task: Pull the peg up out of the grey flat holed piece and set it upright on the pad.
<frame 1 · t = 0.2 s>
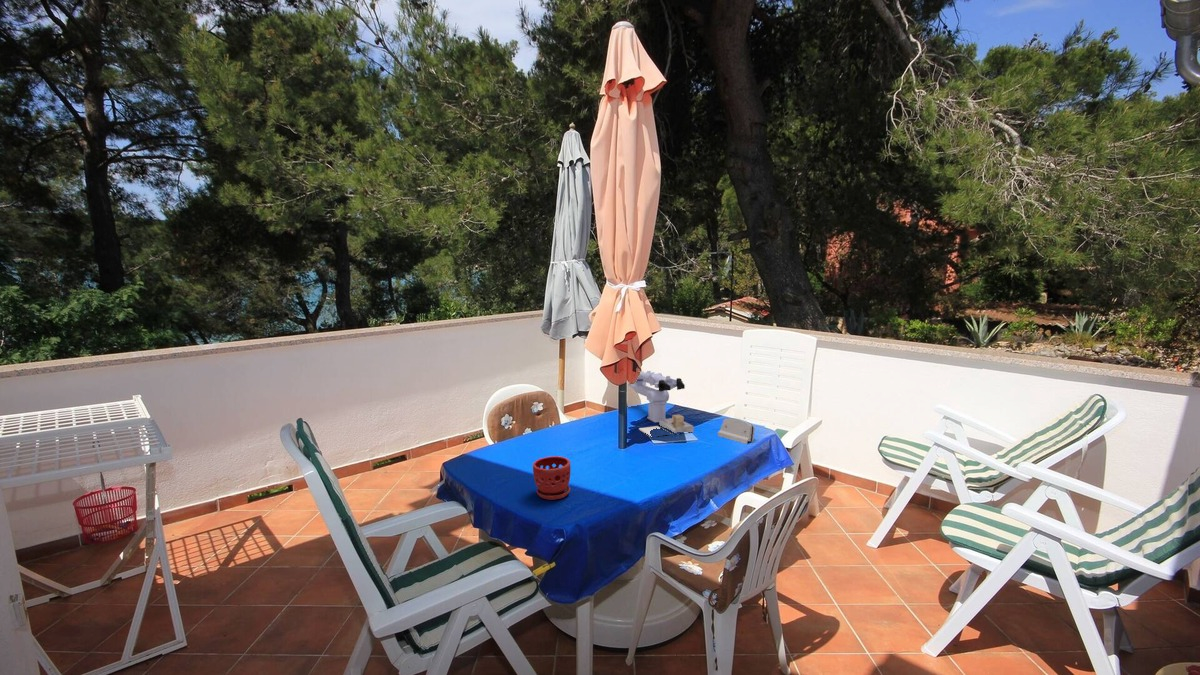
hand: (676, 387, 263), 21 cm above the table, tool horizontal, fingers open, 7 cm apart
grey flat holed piece: (675, 428, 268), on the table
pad: (654, 432, 263), on the table
plant pot: (552, 495, 193), on the table
peg: (677, 430, 266), resting in grey flat holed piece
hinge: (736, 438, 253), on the table
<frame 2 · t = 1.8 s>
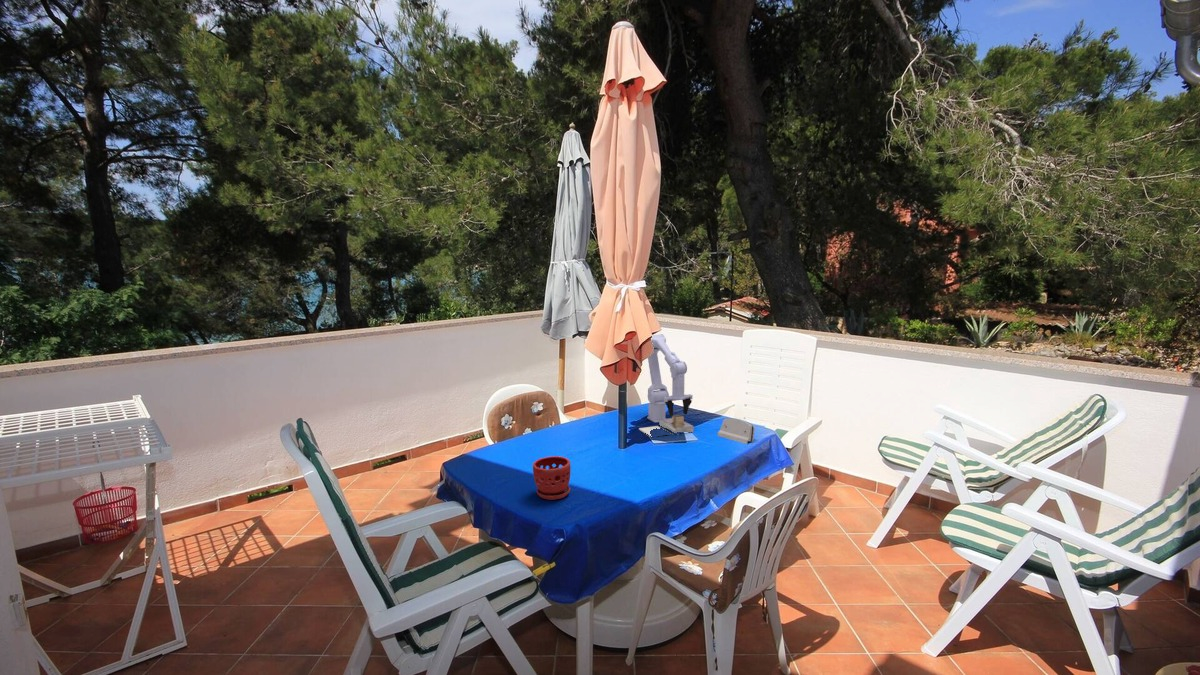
hand: (678, 414, 265), 8 cm above the table, tool pointing down, fingers open, 7 cm apart
nothing on the table moved.
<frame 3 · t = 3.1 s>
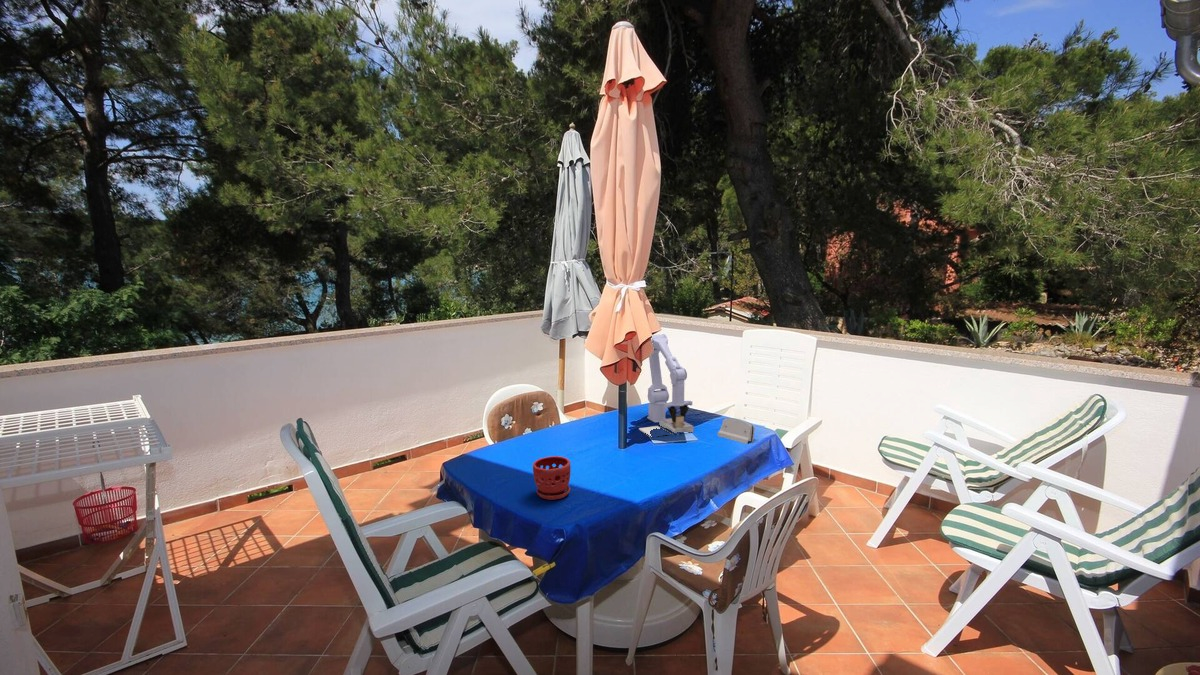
hand: (678, 421, 266), 4 cm above the table, tool pointing down, fingers closed on peg, 4 cm apart
peg: (677, 430, 266), resting in grey flat holed piece, touching gripper
everything else where it was.
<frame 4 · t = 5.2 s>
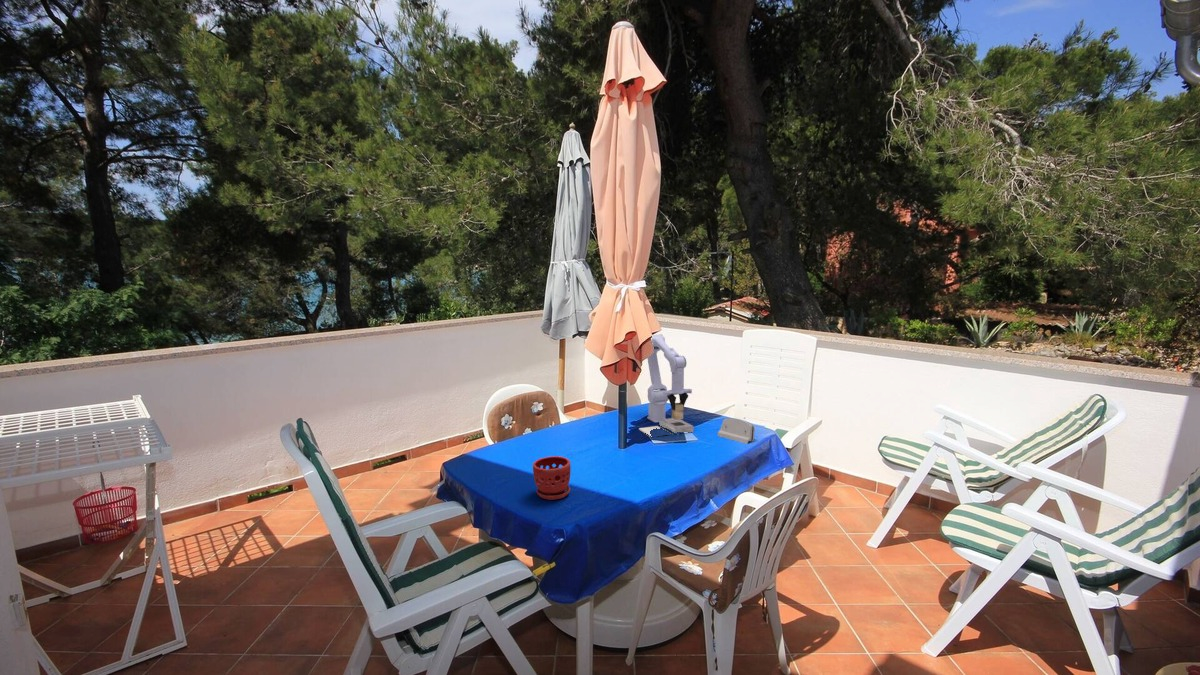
hand: (677, 409, 265), 10 cm above the table, tool pointing down, fingers closed on peg, 4 cm apart
peg: (677, 418, 265), point 6 cm above the table, touching gripper
everything else where it was.
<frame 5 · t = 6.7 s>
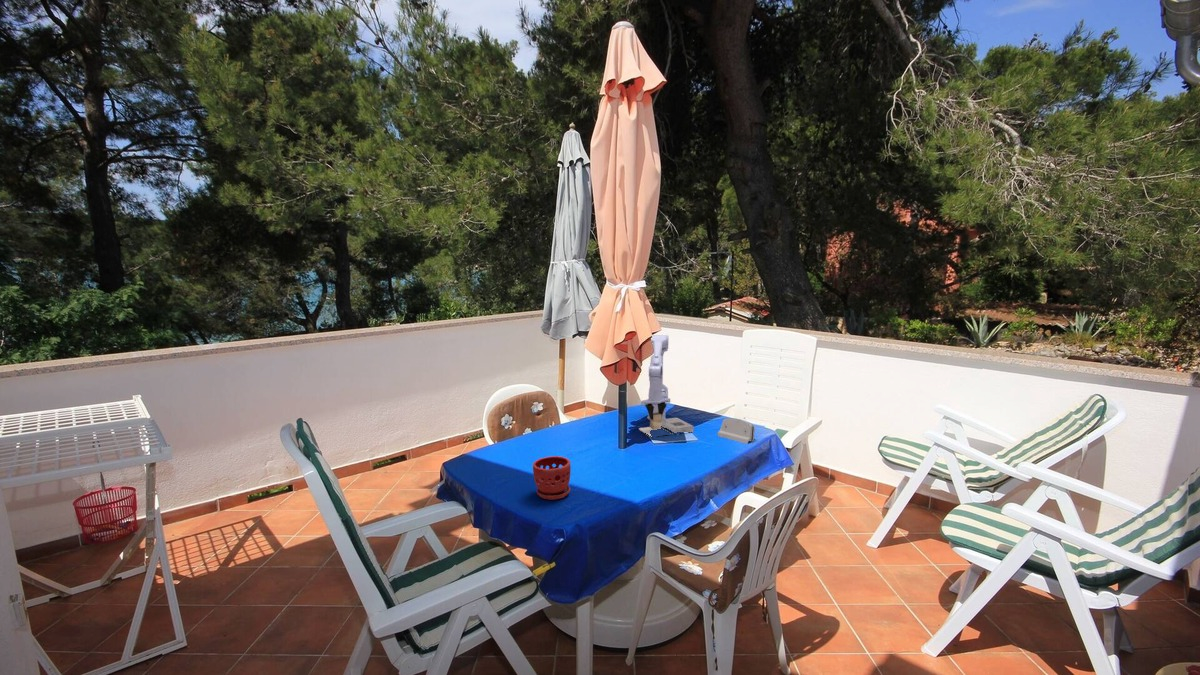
hand: (655, 418, 261), 7 cm above the table, tool pointing down, fingers closed on peg, 4 cm apart
peg: (655, 428, 261), point 2 cm above the table, touching gripper
everything else where it was.
when the fingers open (6 cm above the table, at t = 7.7 s): peg stays where it is, resting on pad.
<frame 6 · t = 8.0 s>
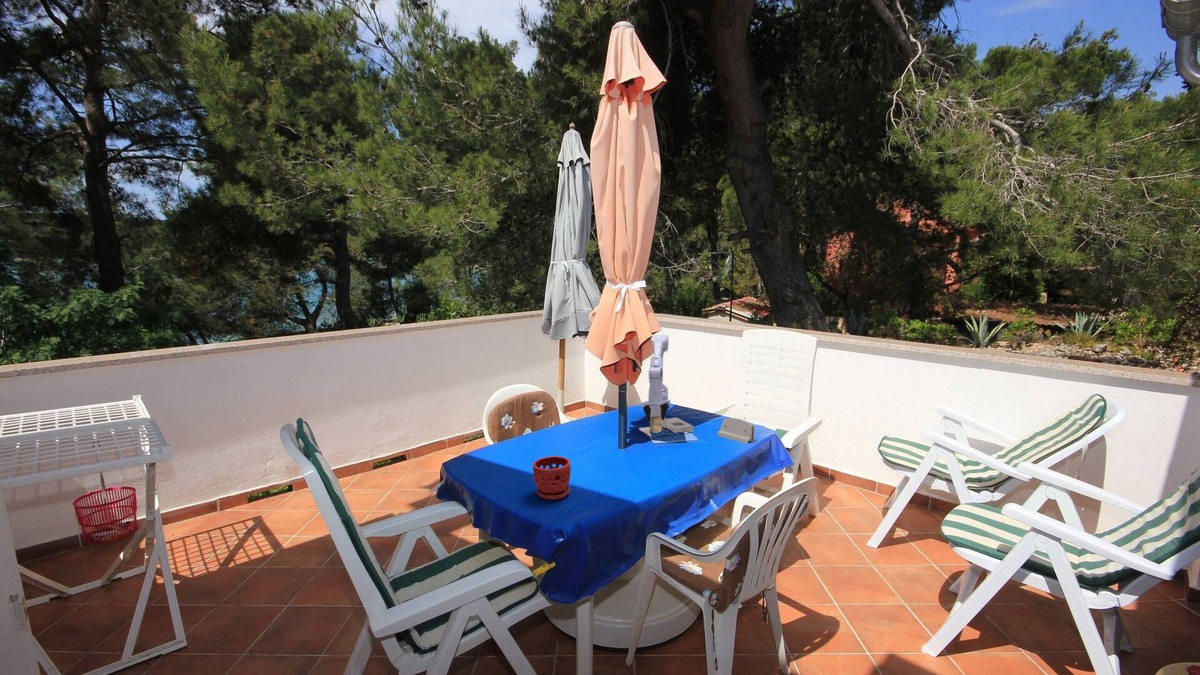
hand: (655, 420, 261), 6 cm above the table, tool pointing down, fingers open, 7 cm apart
peg: (655, 431, 262), point 1 cm above the table, touching pad
everything else where it was.
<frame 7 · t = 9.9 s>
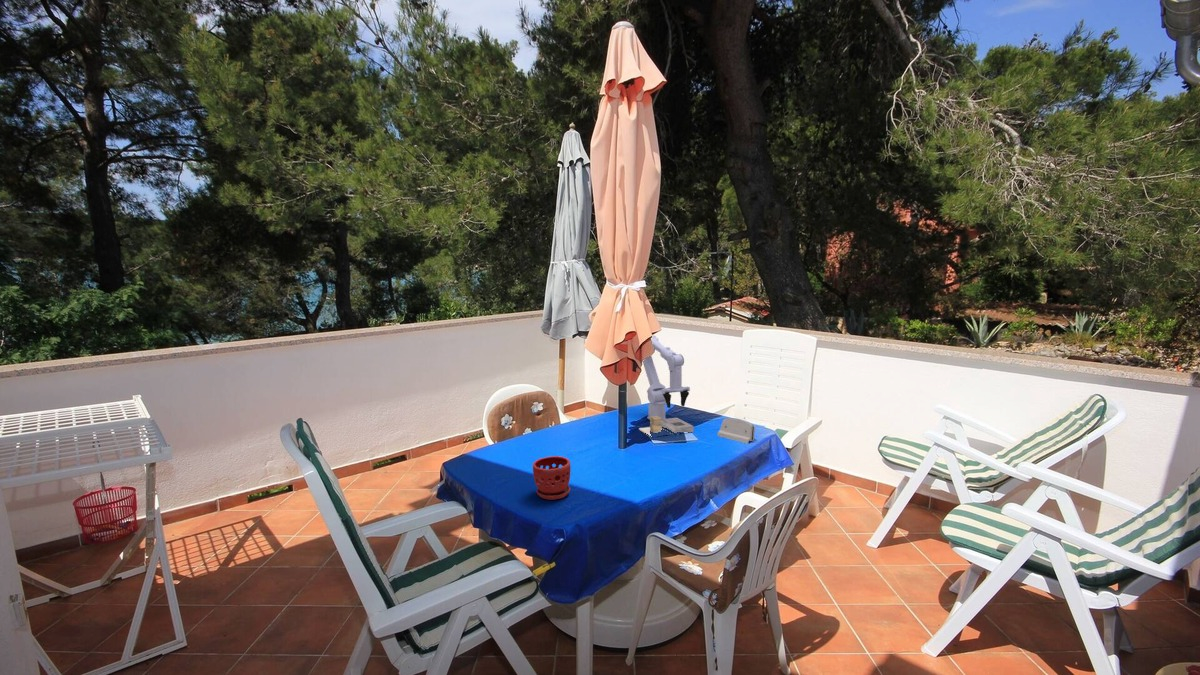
hand: (675, 406, 269), 10 cm above the table, tool pointing down, fingers open, 7 cm apart
nothing on the table moved.
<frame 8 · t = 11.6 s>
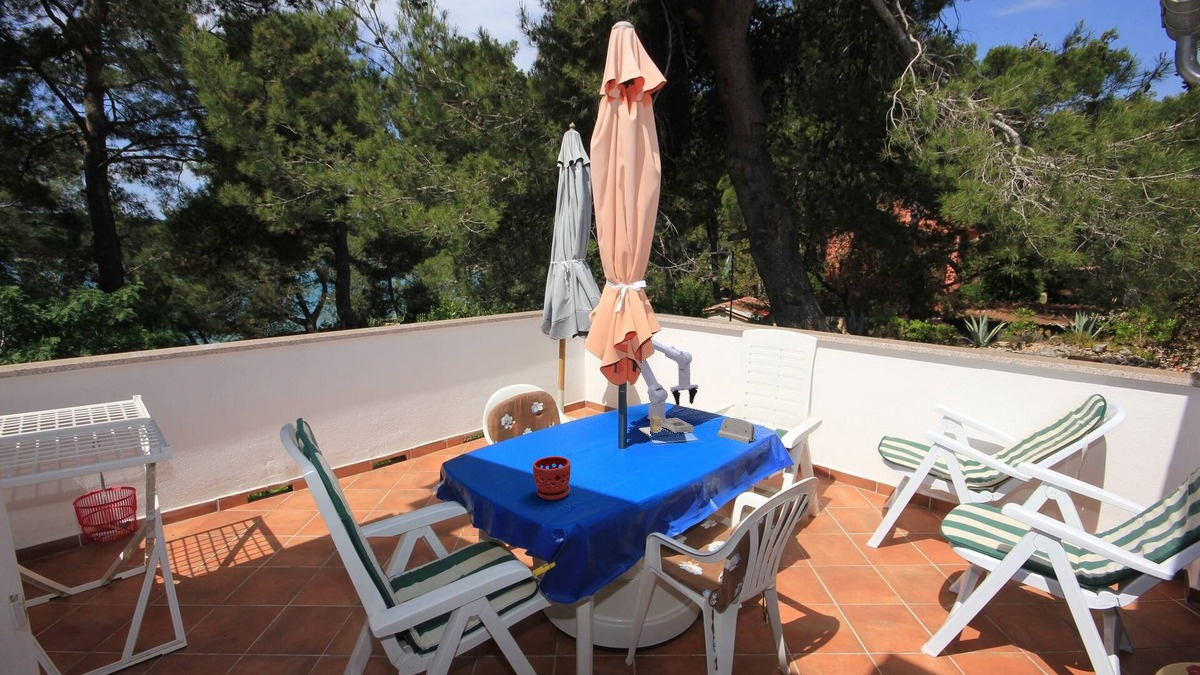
hand: (684, 404, 273), 10 cm above the table, tool pointing down, fingers open, 7 cm apart
nothing on the table moved.
at the end: peg inside the target area on the pad (1.1 cm from its centre), point 0.6 cm above the pad's base; peg tilted 0°; the gripper is holding nothing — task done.
